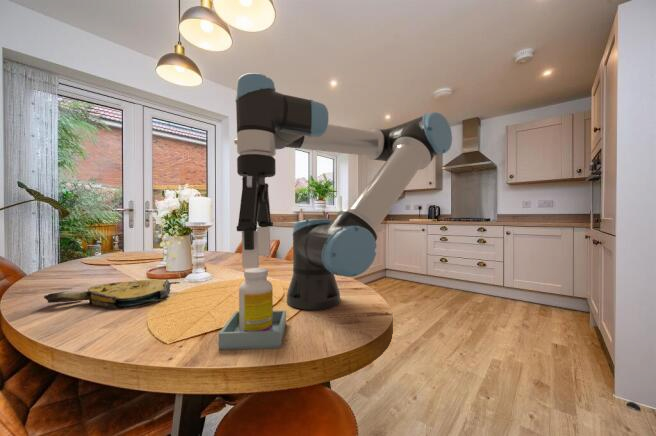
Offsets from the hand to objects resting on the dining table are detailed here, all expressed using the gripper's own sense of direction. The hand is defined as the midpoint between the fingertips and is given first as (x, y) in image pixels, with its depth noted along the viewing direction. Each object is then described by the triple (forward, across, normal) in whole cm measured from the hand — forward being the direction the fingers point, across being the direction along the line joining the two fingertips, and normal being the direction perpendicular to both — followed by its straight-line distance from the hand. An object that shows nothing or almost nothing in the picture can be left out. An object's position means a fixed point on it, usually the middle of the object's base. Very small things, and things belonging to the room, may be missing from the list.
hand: (258, 260), depth 55 cm
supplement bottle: (+15, 0, -1) cm, 15 cm away
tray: (+15, 0, -1) cm, 15 cm away
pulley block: (+15, -23, -44) cm, 52 cm away
